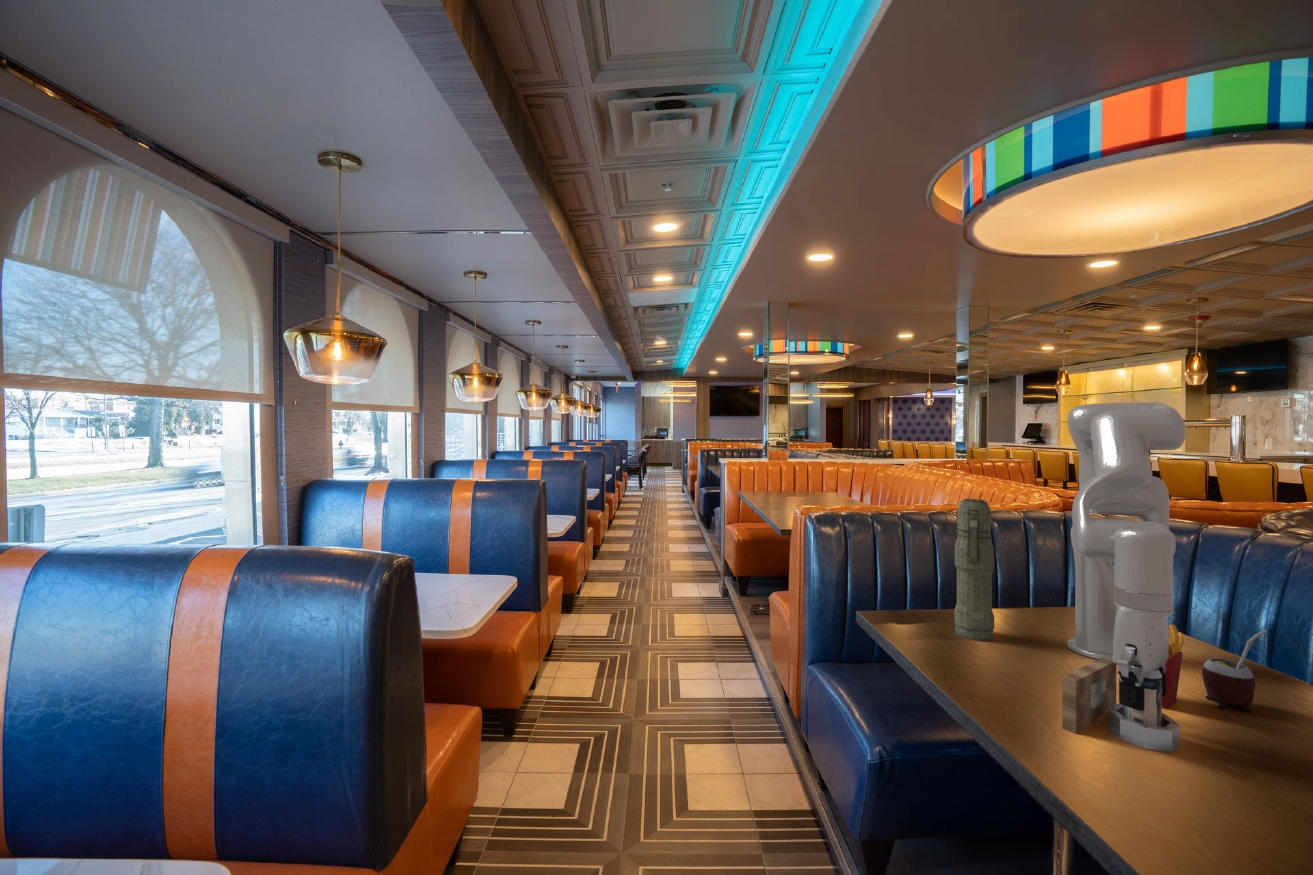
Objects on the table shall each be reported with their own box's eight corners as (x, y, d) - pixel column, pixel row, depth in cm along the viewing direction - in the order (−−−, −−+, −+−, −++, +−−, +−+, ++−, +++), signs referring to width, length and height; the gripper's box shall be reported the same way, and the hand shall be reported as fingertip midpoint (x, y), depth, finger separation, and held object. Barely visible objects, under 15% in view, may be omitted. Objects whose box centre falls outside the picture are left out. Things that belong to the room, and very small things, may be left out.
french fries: (1172, 712, 102) (1172, 632, 102) (1116, 694, 109) (1116, 619, 109) (1187, 700, 106) (1187, 623, 106) (1133, 684, 113) (1133, 611, 113)
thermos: (956, 640, 138) (956, 501, 138) (952, 625, 149) (952, 496, 149) (997, 645, 134) (997, 503, 134) (990, 630, 145) (990, 498, 145)
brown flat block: (1103, 703, 105) (1103, 656, 105) (1118, 708, 103) (1118, 661, 103) (1062, 728, 96) (1062, 677, 96) (1078, 734, 94) (1078, 682, 94)
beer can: (1169, 745, 91) (1169, 673, 91) (1136, 742, 92) (1136, 670, 92) (1149, 730, 96) (1149, 661, 95) (1118, 727, 96) (1118, 659, 96)
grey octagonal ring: (1122, 719, 99) (1122, 699, 99) (1185, 741, 92) (1185, 720, 92) (1102, 732, 95) (1102, 712, 95) (1166, 756, 88) (1166, 735, 88)
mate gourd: (1194, 700, 106) (1194, 623, 106) (1214, 692, 109) (1214, 618, 109) (1248, 718, 99) (1248, 636, 99) (1268, 709, 103) (1268, 630, 103)
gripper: (1135, 587, 101) (1135, 679, 101) (1094, 602, 92) (1094, 703, 92) (1190, 597, 95) (1190, 696, 95) (1152, 614, 86) (1152, 723, 86)
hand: (1142, 699), depth 93 cm, fingers open, 9 cm apart
